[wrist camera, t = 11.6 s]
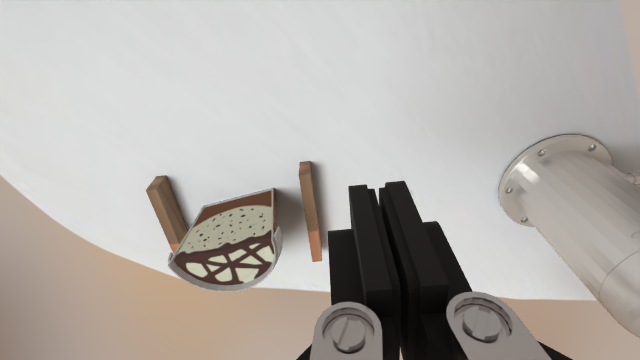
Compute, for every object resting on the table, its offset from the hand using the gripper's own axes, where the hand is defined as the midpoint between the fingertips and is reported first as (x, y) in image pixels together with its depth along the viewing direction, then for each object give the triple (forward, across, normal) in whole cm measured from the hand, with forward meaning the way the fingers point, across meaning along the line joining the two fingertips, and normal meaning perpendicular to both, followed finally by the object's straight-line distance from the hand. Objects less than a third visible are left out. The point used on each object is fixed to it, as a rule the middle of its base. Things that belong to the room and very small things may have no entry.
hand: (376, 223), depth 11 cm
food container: (+27, +13, +19) cm, 36 cm away
